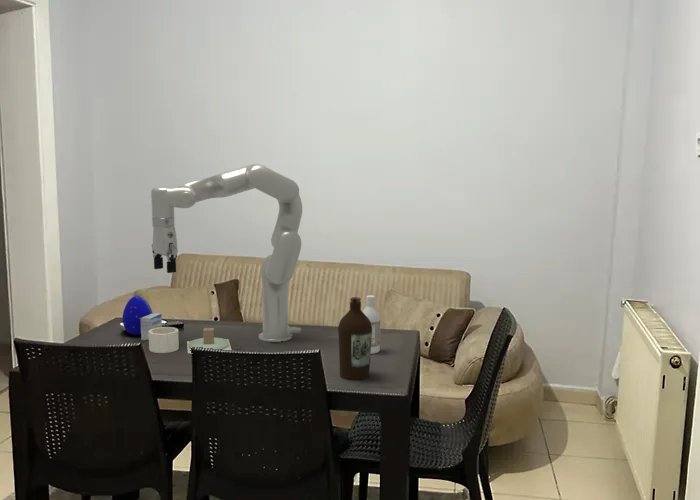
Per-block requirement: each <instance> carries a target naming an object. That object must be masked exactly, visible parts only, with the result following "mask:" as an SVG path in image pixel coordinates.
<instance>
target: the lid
mask: <svg viewBox="0 0 700 500" xmlns="http://www.w3.org/2000/svg"><path fill="white" fill-rule="evenodd" d="M202 329H203V331H202V332H203V333H202V334H203V337H200V338H195V339H193V340H190V341H191V342H189V348H190V349H191V348H192V347H203V348H213V349H225V348H227V347H228V346H229V343H230V340H229V339H228V340H229V341H228V340H226V339H227V338H222V337H215V329H214V327H203V328H202Z"/></svg>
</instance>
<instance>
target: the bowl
mask: <svg viewBox="0 0 700 500" xmlns="http://www.w3.org/2000/svg"><path fill="white" fill-rule="evenodd" d="M179 346H180V345H179V329H178V328H177V327H175V326H174V327H173V326H162V327H159V328H154V329H151V330H149V340H148V351H149V352H152V353H153V354H154V353H156V354H168V353H172V352H173V353H174V352H176V351H178V350H179V348H180V347H179Z"/></svg>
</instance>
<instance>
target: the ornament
mask: <svg viewBox="0 0 700 500" xmlns="http://www.w3.org/2000/svg"><path fill="white" fill-rule="evenodd" d="M151 313H153V310H152V308H151V306H150V304H149V303H148V302H147V299H144V297H142V296H140V295H134V296H132V297H131V298H130V299H129V300H128V301H127V303H126V305H125V306H124V309H123V312H122V319H121V320H122V326H123V328H124V330H125V331H126V332H127V333H128V334H131V335H133V336H140V335H141V318H142V317H144V316H147V315H149V314H151Z"/></svg>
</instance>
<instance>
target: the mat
mask: <svg viewBox="0 0 700 500" xmlns="http://www.w3.org/2000/svg"><path fill="white" fill-rule="evenodd" d="M225 339H226V340H228V341H229V346H228V347H227V348H225V349H223V350H232V351H233V349H232V347H231V343H230V340H229V339H228V338H225ZM191 341H192V340H190V341H189V340H188V341H186V344H187V345H186V346H187V347H186V348H187V354H192V353H191V351H190V350H191V349H190V348H189V342H191Z"/></svg>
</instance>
